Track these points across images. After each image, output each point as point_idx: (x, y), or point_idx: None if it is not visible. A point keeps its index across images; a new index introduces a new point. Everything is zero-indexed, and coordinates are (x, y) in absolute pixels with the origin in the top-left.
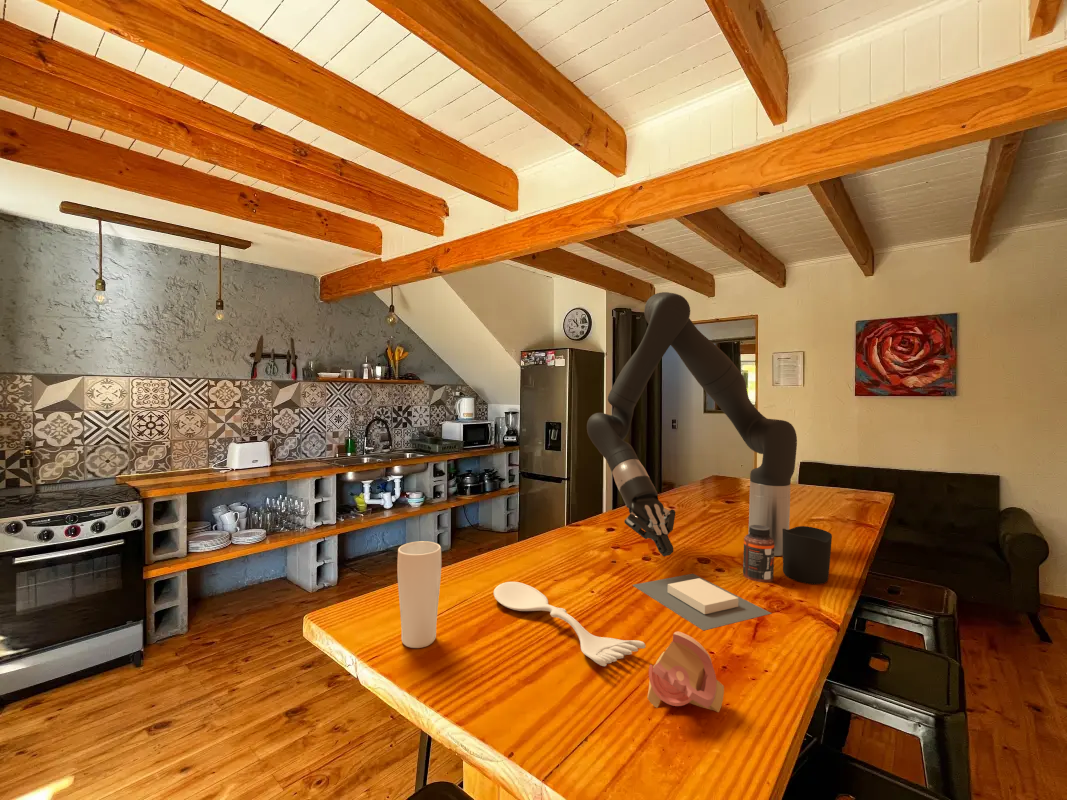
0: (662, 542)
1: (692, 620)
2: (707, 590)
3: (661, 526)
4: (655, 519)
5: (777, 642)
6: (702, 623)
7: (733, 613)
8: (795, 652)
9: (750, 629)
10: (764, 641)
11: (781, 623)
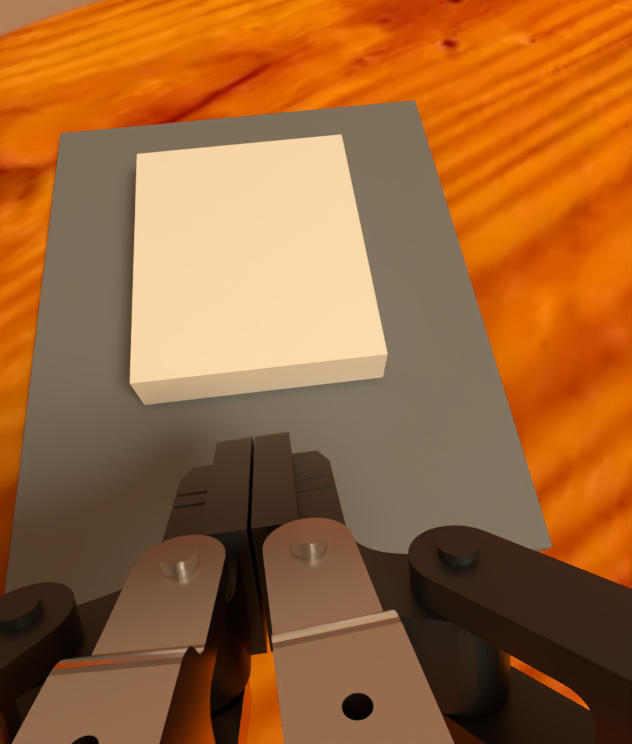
0: (296, 495)
1: (414, 153)
2: (216, 240)
3: (187, 628)
4: (280, 699)
5: (209, 42)
6: (388, 132)
7: None
8: (206, 5)
9: (225, 103)
10: (243, 51)
11: (81, 108)
